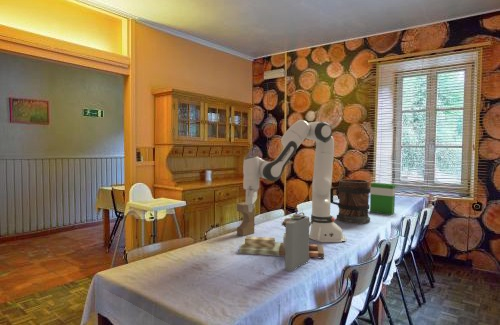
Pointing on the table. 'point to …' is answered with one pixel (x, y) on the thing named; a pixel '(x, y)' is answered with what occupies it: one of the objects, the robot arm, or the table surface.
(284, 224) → the plant
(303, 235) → the flask
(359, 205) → the wooden tankard
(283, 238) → the tunnel
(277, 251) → the track deck
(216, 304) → the table surface
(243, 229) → the decorative block
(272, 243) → the birch bar
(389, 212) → the hardback book
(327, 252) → the table surface
